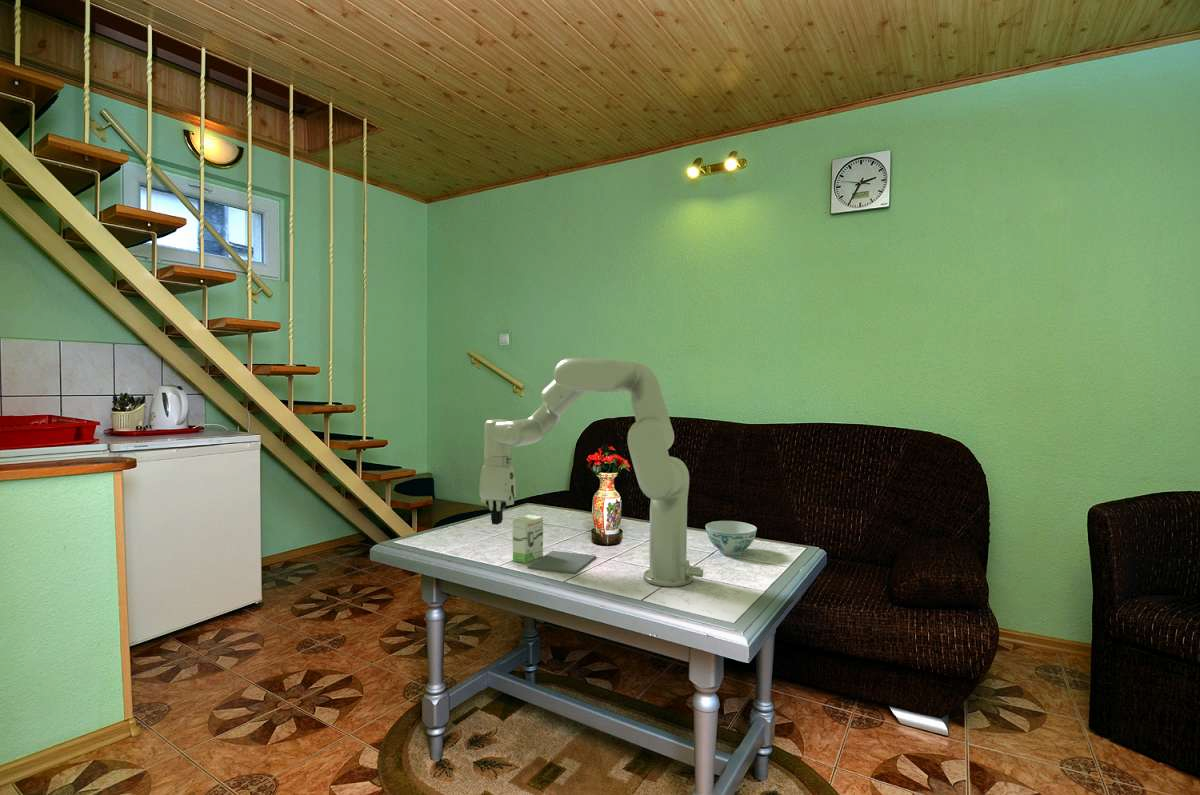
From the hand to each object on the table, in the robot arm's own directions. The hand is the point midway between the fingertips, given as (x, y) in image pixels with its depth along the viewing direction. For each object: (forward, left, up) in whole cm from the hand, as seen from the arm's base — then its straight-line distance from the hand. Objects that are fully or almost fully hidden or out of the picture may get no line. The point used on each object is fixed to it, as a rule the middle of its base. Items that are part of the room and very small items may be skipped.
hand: (496, 523), depth 172 cm
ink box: (-10, 0, -10) cm, 14 cm away
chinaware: (-64, -27, -10) cm, 70 cm away
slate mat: (-21, 0, -9) cm, 23 cm away
